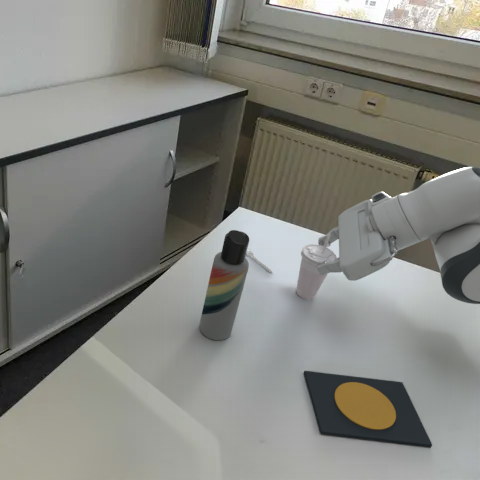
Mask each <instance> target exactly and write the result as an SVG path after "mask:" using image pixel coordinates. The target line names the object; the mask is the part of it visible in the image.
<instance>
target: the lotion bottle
mask: <svg viewBox="0 0 480 480" xmlns="http://www.w3.org/2000/svg"><path fill="white" fill-rule="evenodd" d="M249 243H250V237H249V235H248V234H247V233H246V232H244V231H240V230H238V229H231V230H229V231H228V232H227V233H226V234H225V235H224V240H223V243H222V248H221V251H219V252H218V253H216V254H215V255H214V258H213V261H212V265H211V269H210V275H209V280H208V284H207V289H206V292H205V298H204V302H203V305H202V311H201V316H200V320H199V330H200V333H201V334H202V335H203V336H204V337H206V338H207V339H210V340H213V341H224V340H226V339H228V338H229V337H230V336H231V334H232V331H233V328H234V324H235V321H236V316H237V313H238V309H239V305H240V302H241V297H242V294H243V290H244V286H245V284H246V283H245V282H246V279H247V275H248V272H249V267H250V261H249V260H248V259H247V257H246V255H247V253H246V252H247V250H248V249H249V248H248V247H249Z"/></svg>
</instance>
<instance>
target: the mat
mask: <svg viewBox="0 0 480 480" xmlns="http://www.w3.org/2000/svg"><path fill="white" fill-rule="evenodd" d="M303 376H304V379H305V383H306V387H307V391H308V393H309V398H310V401H311V405H312V409H313V412H314V415H315V419H316V423H317V427H318V430H319V432H320V435H325V436H333V437H341V438H348V439H357V440H366V441H374V442H382V443H390V444H391V443H392V444H397V445H398V444H399V445H409V446H415V447H422V448H423V447H425V448H432V446H433V443H432V441H431V439H430V437H429V435H428V433H427V430H426V429H425V427H424V424H423V422H422V420H421V418H420V416H419V414H418V412H417V410H416V408H415V405H414V403H413V401H412V399H411V397H410V395H409V393H408V391H407V389H406V386H405V384H404V382H403V381H395V380H386V379H380V378H379V379H378V378H369V377H361V376H354V375H346V374H345V375H344V374H336V373H330V372H329V373H328V372H320V371H311V370H303Z"/></svg>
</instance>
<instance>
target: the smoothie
mask: <svg viewBox="0 0 480 480" xmlns="http://www.w3.org/2000/svg"><path fill="white" fill-rule="evenodd" d="M327 233H328V234H327ZM327 233H326V234H327V237H326V240H325V243H324V246H321V245H319V244H315V243H312V244H310V243H309V244H305V246H303V247H302V250H301V251H300V256H301V259H300V265H299V272H298V278H297V284H296V289H295V292H296V294H297V296H299V297H300V298H302V299H305V300H313V299H315V297H316V296H317V294H318V292H319V290H320V288H321V287H322V285H323V283H324V282H325V279H326V278H327V276H328V274H329V273H327V274H325V275H321V274H320V273H319V272H318V270H317V265H318V264H319V263H321V262H323V261H326V262H333V261H334V259H336V258H338V257H337V254H336V253H335V252H334V251H333V250H332V249H330V248H329V247H327V244H328V241H329V238H330V235H331V234H329V232H327Z"/></svg>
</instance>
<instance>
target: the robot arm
mask: <svg viewBox="0 0 480 480" xmlns="http://www.w3.org/2000/svg"><path fill="white" fill-rule="evenodd" d="M337 222H338V223H337V224H338V226H337V225H336V226H335V227H333V228H332V229H331V230H329V231H328V232H327V233H326V234H325V235H322V236H321V237H319V238H318V239H317V243H318V244H317V245H321V246H324V243H325V240H326V237H327V234H328V233H329V234H331V235H330V238H329V241H328V244H327V247H326V248H329V247H330V246H331V244H332V243H334V242H336V241H338V257H337V258H336V259H334V261H333V262H326V261H323V262H321V263H319V264H318V265H317V270H318V272H319V273H320V274H321V275H325V274H327V273H328V274H330V273H342V275H344V277H345V278H346V280H348V281H353V282H356V281H359V280H361V279H363V278H365V277H367V276H370V275H372V274H375V273H376V272H379V271H380V270H382V269H383V268H385V267H386V266H388V265H389V264H390V262H391V261H393V258H394V257H395V256H396V255H397V254H399V253H398V252H399V251H401V250H403V249H406V248H409V247H411V246H413V245H416V244H418V243H421V242H423V241H425V240H430V243H431V247H432V250H433V252H434V257H435V260H436V262H437V265H438V268H439V271H440V273H439V274H440V278H441V285H442V288H443V290H444V292H445V293H446V294H447V295H448V296H450V298H452V299H455V300H457V301H460V302H461V303H462V302H463V303H466V304H473V305H480V167H478V166H467V167H462V168H459V169H456V170H452V171H449V172H447V173H444V174H441V175H440V176H438V177H435V178H432V179H430V180H428V181H426V182H424V183H422V184H421V185H419V186H418V187H417V188H415V189H414V190H411V191H408V192H403V193H399V194H397V195H395V196H393V197H392V196H391V195H388V194H387V193H385V192H384V191H379V192H376V193H374V194H373V195H371V199H366V200H363V201H361V202H359V203H357V204H354V205H353V206H351V207H349V208H347V209H345V210H344V211H342V212H341V213H340V214H339V215H338V217H337ZM328 274H327V275H328Z"/></svg>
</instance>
